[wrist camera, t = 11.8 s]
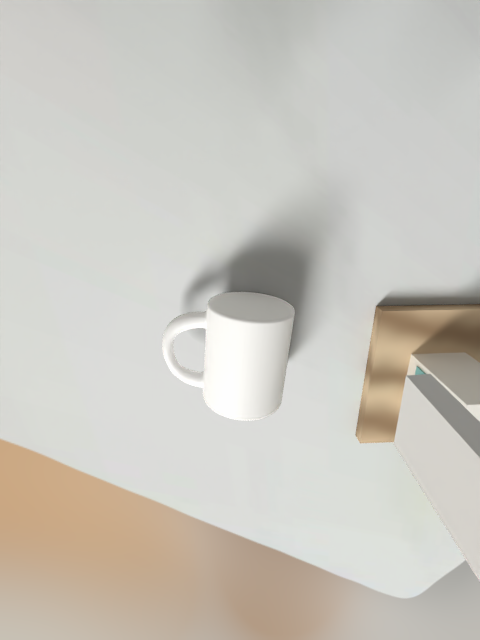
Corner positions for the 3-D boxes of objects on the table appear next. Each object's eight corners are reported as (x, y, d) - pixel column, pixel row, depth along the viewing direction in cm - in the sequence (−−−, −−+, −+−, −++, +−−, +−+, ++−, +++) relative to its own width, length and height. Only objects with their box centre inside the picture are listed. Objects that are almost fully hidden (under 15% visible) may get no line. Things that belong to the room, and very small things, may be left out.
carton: (400, 400, 39) (448, 460, 31) (409, 354, 37) (465, 404, 28) (453, 398, 39) (516, 457, 31) (466, 352, 37) (537, 402, 29)
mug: (286, 293, 35) (304, 323, 28) (274, 377, 39) (287, 423, 31) (168, 286, 34) (154, 315, 27) (168, 372, 38) (155, 418, 30)
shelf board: (376, 306, 36) (391, 318, 33) (540, 303, 37) (571, 314, 34) (355, 434, 42) (366, 455, 39) (495, 429, 43) (518, 449, 40)
